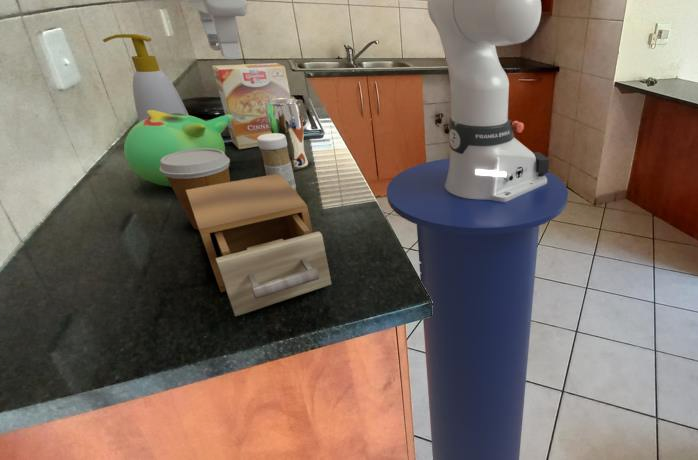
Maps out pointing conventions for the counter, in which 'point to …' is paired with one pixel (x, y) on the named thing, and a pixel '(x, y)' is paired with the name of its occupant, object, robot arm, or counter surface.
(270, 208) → the cabinet
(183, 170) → the disposable coffee cup
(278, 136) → the sprinkles bottle
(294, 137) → the beer glass
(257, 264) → the drawer
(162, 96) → the soap bottle
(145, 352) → the counter surface
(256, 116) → the coffeecake box
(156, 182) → the toy bird
